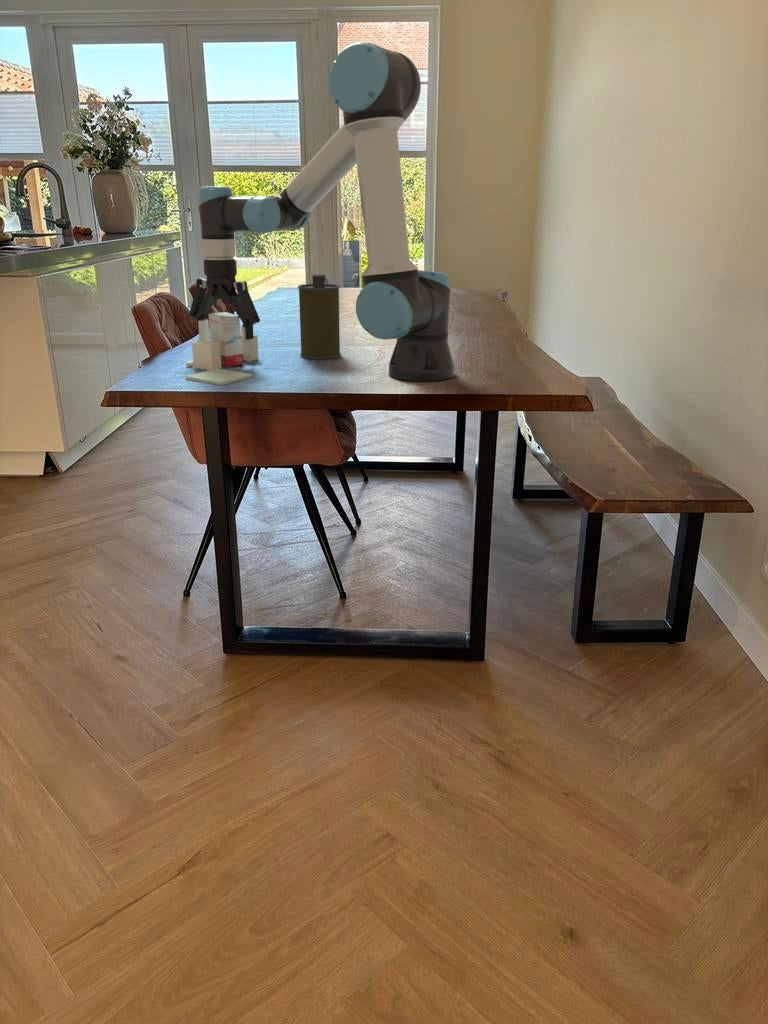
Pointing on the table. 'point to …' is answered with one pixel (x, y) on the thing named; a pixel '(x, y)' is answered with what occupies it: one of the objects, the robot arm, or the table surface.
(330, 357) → the canister
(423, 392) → the table surface
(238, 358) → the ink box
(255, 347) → the holder
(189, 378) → the mat
